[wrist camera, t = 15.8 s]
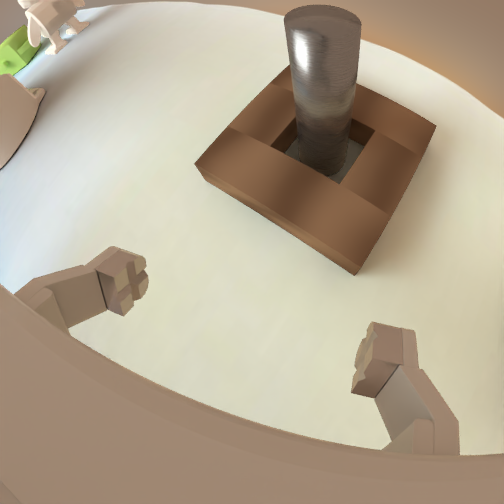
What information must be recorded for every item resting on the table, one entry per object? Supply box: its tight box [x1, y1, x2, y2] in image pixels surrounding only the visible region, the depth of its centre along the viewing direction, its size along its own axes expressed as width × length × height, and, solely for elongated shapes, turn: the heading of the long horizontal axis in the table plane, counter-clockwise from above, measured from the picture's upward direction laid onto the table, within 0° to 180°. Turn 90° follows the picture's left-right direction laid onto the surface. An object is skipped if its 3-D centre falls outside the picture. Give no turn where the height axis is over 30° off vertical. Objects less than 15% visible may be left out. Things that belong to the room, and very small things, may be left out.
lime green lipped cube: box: [0, 25, 41, 76], centre depth 40 cm, size 18×10×10 cm, turn 92°
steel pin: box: [284, 5, 361, 176], centre depth 15 cm, size 4×4×12 cm
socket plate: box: [195, 65, 436, 276], centre depth 20 cm, size 13×13×2 cm
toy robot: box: [18, 0, 89, 55], centre depth 30 cm, size 14×9×20 cm, turn 144°
